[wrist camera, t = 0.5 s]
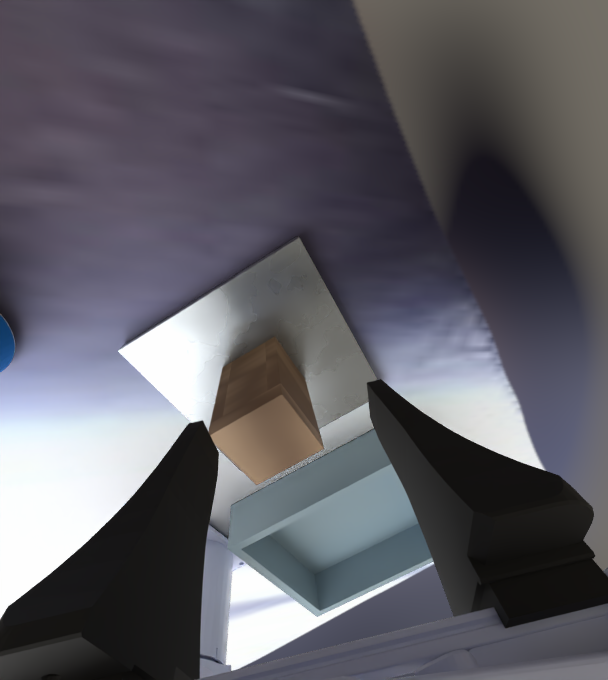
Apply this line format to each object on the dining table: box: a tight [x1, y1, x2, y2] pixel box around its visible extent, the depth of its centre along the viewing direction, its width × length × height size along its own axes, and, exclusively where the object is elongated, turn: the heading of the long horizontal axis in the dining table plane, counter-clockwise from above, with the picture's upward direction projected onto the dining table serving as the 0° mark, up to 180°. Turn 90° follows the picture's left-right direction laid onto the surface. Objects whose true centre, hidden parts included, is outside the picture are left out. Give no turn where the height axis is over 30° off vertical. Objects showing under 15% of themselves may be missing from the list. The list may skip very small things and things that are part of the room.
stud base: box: [118, 236, 377, 471], centre depth 20 cm, size 14×14×5 cm
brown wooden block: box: [208, 337, 324, 485], centre depth 19 cm, size 4×4×7 cm
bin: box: [227, 429, 433, 617], centre depth 29 cm, size 16×16×4 cm
